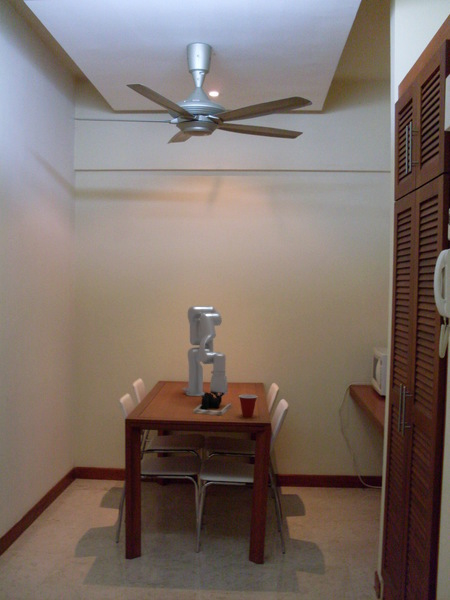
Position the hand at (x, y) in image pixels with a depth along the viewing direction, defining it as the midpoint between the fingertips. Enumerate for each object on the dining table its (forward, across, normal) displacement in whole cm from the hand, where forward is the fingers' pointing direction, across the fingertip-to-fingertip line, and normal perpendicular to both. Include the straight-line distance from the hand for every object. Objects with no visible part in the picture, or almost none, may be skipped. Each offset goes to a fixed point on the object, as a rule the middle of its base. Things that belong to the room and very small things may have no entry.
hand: (218, 403), depth 335 cm
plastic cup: (+2, +23, -19) cm, 30 cm away
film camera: (+2, -3, -7) cm, 8 cm away
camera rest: (+2, 0, -11) cm, 11 cm away
